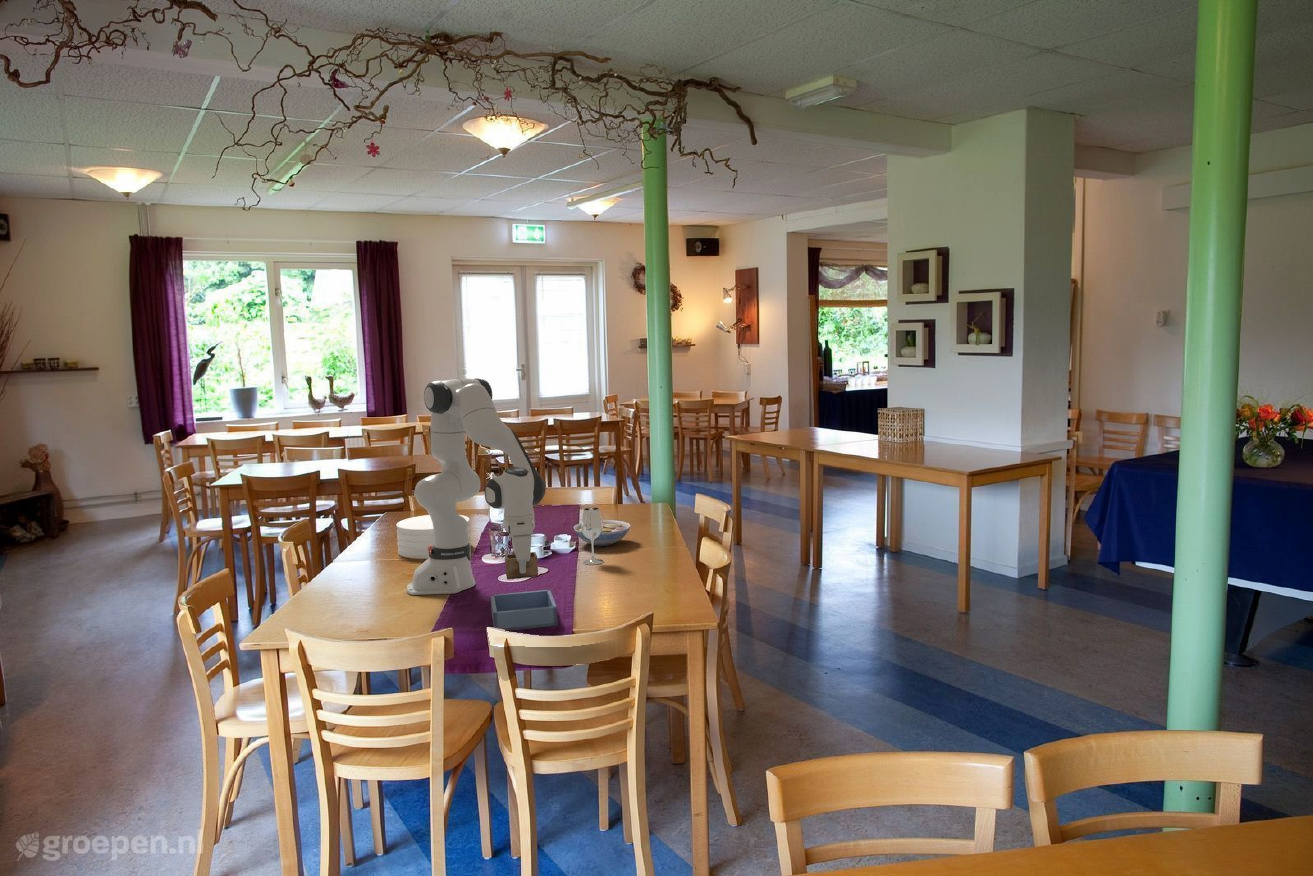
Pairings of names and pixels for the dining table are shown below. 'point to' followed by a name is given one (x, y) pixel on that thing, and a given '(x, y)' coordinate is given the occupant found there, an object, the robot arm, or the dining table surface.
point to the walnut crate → (513, 566)
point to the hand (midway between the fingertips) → (521, 569)
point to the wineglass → (592, 530)
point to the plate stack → (418, 536)
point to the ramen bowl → (607, 532)
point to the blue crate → (524, 610)
